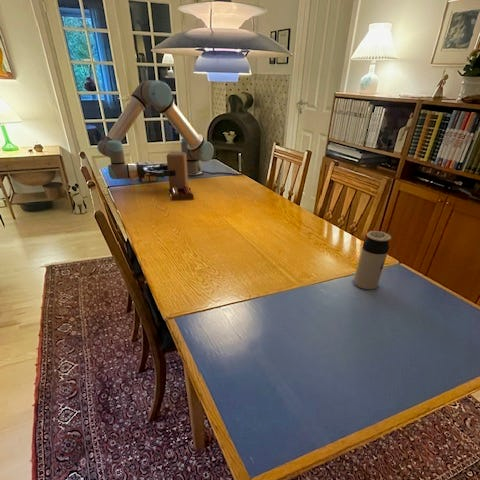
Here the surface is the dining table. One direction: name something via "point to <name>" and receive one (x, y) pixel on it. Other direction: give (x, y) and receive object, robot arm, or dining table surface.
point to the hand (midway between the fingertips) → (174, 170)
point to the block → (177, 169)
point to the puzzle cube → (147, 178)
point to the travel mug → (372, 259)
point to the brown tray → (181, 193)
